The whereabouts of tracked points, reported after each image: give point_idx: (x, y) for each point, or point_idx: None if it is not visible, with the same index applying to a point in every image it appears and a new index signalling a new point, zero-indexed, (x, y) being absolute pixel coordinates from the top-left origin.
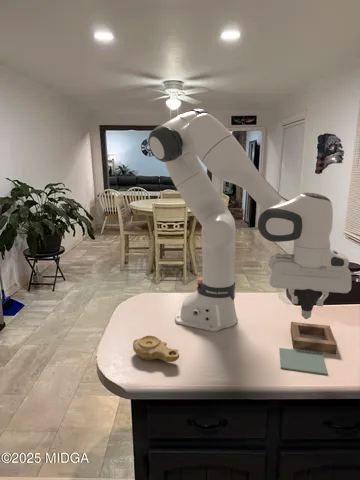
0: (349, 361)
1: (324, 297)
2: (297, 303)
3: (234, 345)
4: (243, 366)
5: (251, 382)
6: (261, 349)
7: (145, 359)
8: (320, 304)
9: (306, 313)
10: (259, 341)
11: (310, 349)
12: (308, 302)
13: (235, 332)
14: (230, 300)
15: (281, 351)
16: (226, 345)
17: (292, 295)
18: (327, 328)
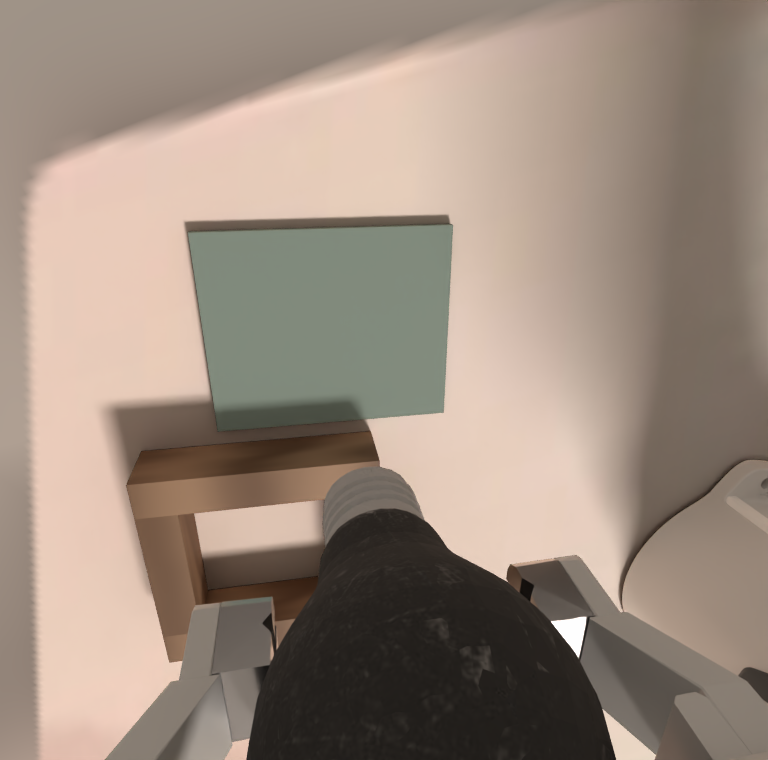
0: (65, 405)
1: (153, 741)
2: (521, 566)
3: (664, 373)
4: (645, 189)
5: (624, 35)
6: (533, 377)
7: None
8: (225, 618)
9: (381, 492)
10: (535, 446)
11: (280, 444)
12: (414, 566)
13: (643, 487)
14: (765, 657)
15: (436, 380)
16: (703, 361)
17: (653, 647)
18: (181, 632)
